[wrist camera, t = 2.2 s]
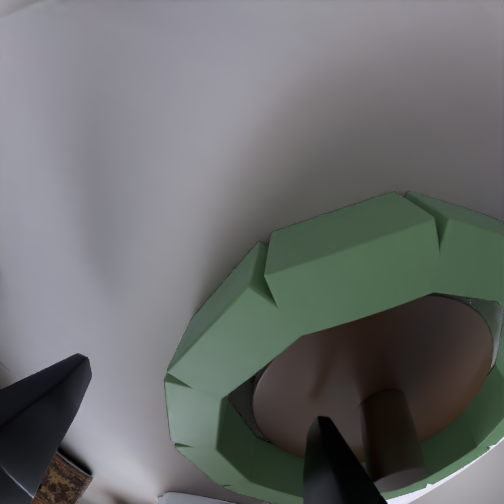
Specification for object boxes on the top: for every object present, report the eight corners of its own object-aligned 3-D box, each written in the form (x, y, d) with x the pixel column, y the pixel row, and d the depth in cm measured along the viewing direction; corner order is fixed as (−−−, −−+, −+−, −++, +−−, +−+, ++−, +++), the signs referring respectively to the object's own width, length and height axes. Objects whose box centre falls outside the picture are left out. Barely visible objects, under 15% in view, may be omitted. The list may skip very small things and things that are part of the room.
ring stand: (325, 467, 12) (326, 532, 8) (201, 366, 10) (167, 462, 6) (492, 386, 9) (524, 449, 6) (451, 221, 7) (540, 291, 3)
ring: (306, 490, 14) (304, 522, 11) (108, 341, 10) (77, 384, 8) (531, 381, 9) (548, 411, 7) (475, 97, 6) (530, 95, 3)
